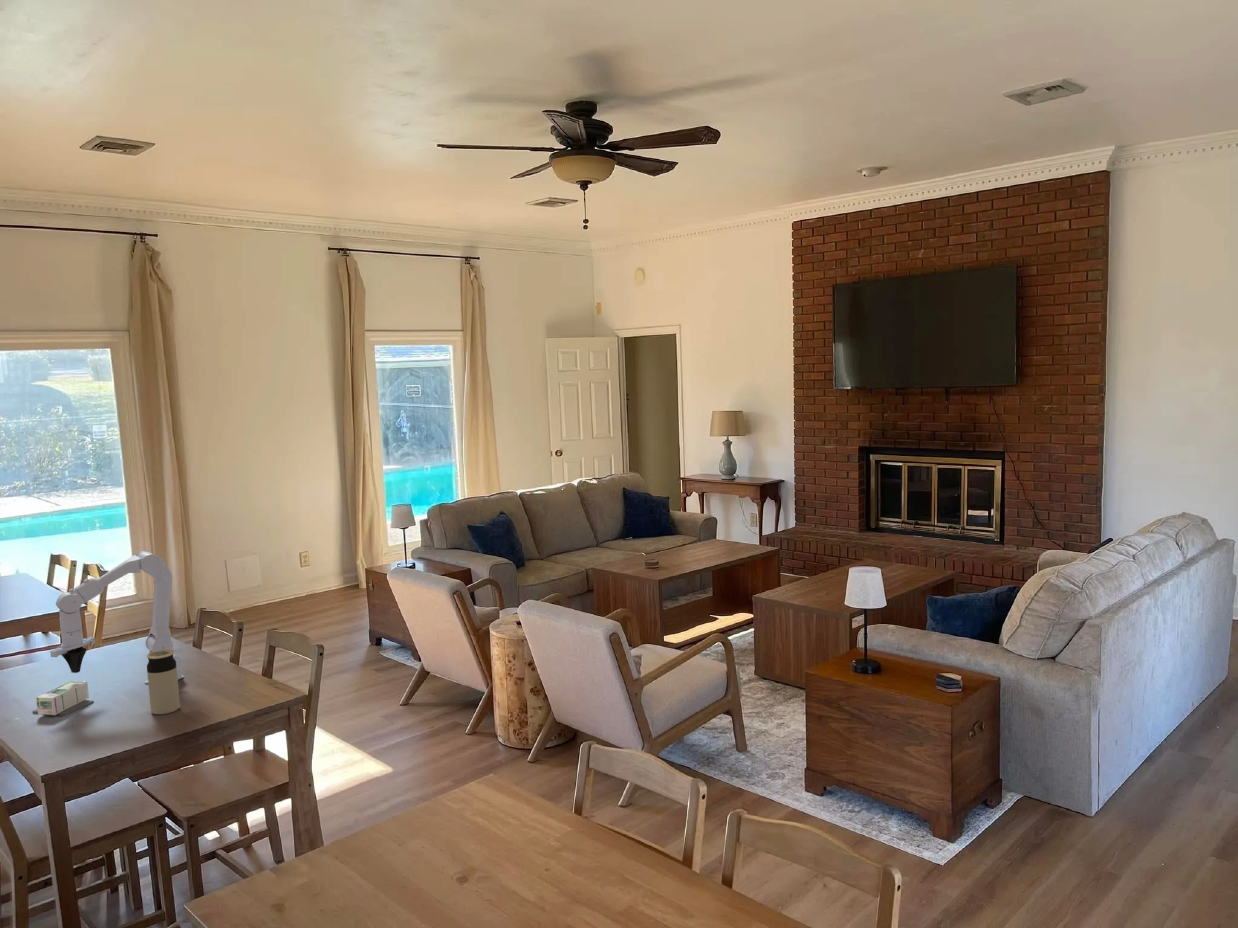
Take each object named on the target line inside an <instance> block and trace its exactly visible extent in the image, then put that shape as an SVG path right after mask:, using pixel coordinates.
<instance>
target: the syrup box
mask: <svg viewBox="0 0 1238 928" xmlns="http://www.w3.org/2000/svg"><path fill="white" fill-rule="evenodd" d="M88 685H89V684H88V681H87V680H86V681H84V680H77V681H76V680H71V681H69V682H66V683H65V684H63V685H60V686H58V687H56V688H54V689H52V690H50V691H47V692H45V693H43V694H41V695H39V696H37V697H36V709H38V713H37V715H38V716H39V715H40V716H41V715H43V716H57V715H56V714H58V713H60V712H62V711H64V710H66V709H68V708H70V707H72V706H74V705H76V704H78V703H80V702H82V701H84V700H88V699H90V698H89V697H90V695H89V686H88Z"/></svg>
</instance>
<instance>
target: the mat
mask: <svg viewBox="0 0 1238 928" xmlns="http://www.w3.org/2000/svg"><path fill="white" fill-rule="evenodd" d="M94 703H95V702H94V700H88V699H86V700H84V701H82V702H80V703H78V704H76V705H74V706H72V707H70V708H68V709H66V710H64V711H62V712H60V713H58V714H56V715H55V716H57V715H58V717H64V716H66V714H67V715H70V714H71V713H73V711H74V712H75V711H76V712H77V711H78V710H80V709H82V708H84V707H87V706H89V705H92V704H94ZM32 714H38V709H37V708H36V709H34V710H32Z"/></svg>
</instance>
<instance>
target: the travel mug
mask: <svg viewBox="0 0 1238 928" xmlns="http://www.w3.org/2000/svg"><path fill="white" fill-rule="evenodd" d="M173 654H174V655H175V651H174V650H173V649H172V650H159V651H155V652H152V653H149V652H148V654H147V655H146V658H147V659H148V663H147V664H146V673H147V680H148V683H147V684H148V692H149V693H148V694H149V706H150V712H151V714H153V715H159V716H161V715H166V714H167V715H168V714H171V713H174V712H176V711H178V709H180V708H181V703H180V700H181V699H180V692H179V682H178V681H179V680H178V678H177V667H176V661H175V659H174V658H173Z"/></svg>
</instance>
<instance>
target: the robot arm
mask: <svg viewBox="0 0 1238 928" xmlns="http://www.w3.org/2000/svg"><path fill="white" fill-rule="evenodd" d="M141 571H142V572H144V573H146V574H148V575H149V576H151V578H153V579H154V590H153V591H154V592H153V605H152V606H153V607H152V618H151V619H152V622H151V627H150V629H149V633H148V636H147V638H146V640H145V647H146V648H147V650H148V651H149V652H148V654H149V653H152V652H155V651H159V650H173V649H174V642H173V641H172V637H171V636H172V633H171V629H170V614H171V601H172V589H173V587H172V586H173V585H172V583H173V574H172V572H171V570H170V568H169V567H168V565H167V564H166V561H165V560H164V559H163V558H162V557H160V556H158V555H157V554H154V553H152V552H151V551H149V550H142V551H140V552H138V553H136V555H135V554H133V555H131V556H129V557H128V558H127V559H125V560H124V561H123V562H121V563H120V564H118V565H117V566H115V567H113V568H112V569H111V570H109V571H107V572H106V573H104V574H103V575H102V576H100V577H97V578H96V577H90V578H85V579H83V582H82V583H81V584H79V585H77V586H75V588H70V589H68V592H64V593H61V594H60V595H58V597H57V600H56V602H55V605H56V607H57V608H58V609H59V610H58V611H59V612H58V613H59V618H58V619H59V626H60V636H61V637H60V638H61V644H60V645H59V646H58V647H56V648H54V649H52V650H50V651H49V653H50V658H58V657H59V656H61V657H62V658H63V659H64V660H65V661H66V663H67V664H68V667H69V669H70V673H73V674H78V673H80V672H81V667H82V665H83V664H82V663H83V659H84V657H85V655H86V653H87V648H86V646H89V645H94V644H95V643H96V638H95V637H94V636H90V637H86V638H84V635H83V634H84V633H83V626H82V625H83V623H82V616H81V614H80V612H81V611H80V609H81V607H82V605H83V604H86V603H87V602H89V601H91V600H92V599H94V598H96V597H98V596H99V595H101V594H102V593H104V590H105V587H107V586H108V585H110V584H112V583H114V582H116V581H117V580H119V579H120V578H123V577H124V576H126V575H129V574H141ZM173 658H174V659H175V661H176V667H177V678H178V681H179V680H180V679H182V678H185V675H183V669H182V660H181V658H180V656H178V655H175V653H174V654H173ZM144 684H148V679H147V680H145V681H144Z"/></svg>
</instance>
